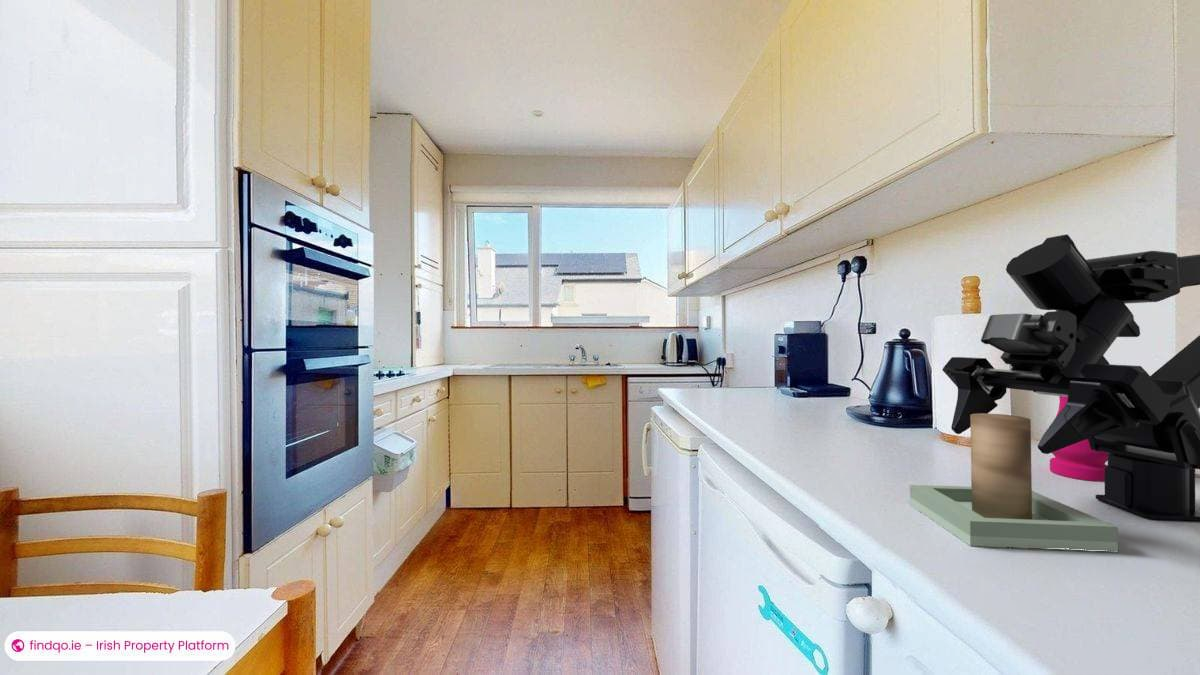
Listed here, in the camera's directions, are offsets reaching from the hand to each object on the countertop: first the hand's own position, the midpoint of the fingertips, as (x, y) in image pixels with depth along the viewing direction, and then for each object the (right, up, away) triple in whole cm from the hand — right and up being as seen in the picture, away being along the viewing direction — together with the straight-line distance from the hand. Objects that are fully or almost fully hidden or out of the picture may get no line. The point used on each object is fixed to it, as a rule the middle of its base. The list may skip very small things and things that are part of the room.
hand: (994, 440), depth 50 cm
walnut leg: (+1, -8, 0) cm, 9 cm away
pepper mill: (+28, -9, +17) cm, 34 cm away
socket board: (+1, -9, 0) cm, 10 cm away
